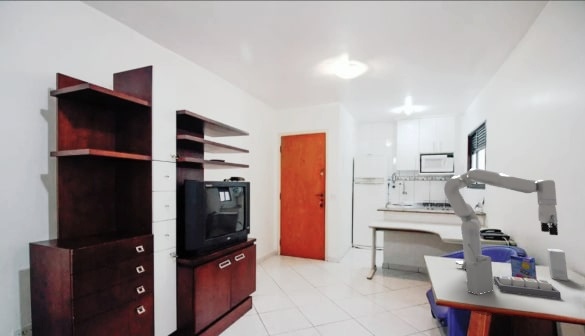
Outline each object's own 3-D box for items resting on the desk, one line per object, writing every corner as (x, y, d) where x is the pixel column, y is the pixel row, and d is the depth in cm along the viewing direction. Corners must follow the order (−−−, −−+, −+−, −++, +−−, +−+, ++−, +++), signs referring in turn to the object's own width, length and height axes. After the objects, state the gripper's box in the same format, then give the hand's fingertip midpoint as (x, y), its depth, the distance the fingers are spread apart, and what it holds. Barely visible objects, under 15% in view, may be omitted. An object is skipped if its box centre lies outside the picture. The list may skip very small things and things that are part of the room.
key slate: (501, 284, 137) (500, 277, 137) (499, 281, 141) (498, 274, 141) (511, 285, 135) (511, 279, 135) (508, 282, 139) (508, 276, 139)
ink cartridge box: (511, 276, 153) (509, 251, 154) (515, 274, 155) (513, 249, 156) (532, 281, 144) (530, 254, 145) (537, 279, 147) (534, 253, 148)
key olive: (527, 287, 132) (526, 280, 132) (523, 283, 136) (523, 277, 136) (538, 288, 130) (537, 281, 130) (534, 285, 134) (533, 278, 135)
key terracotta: (514, 285, 134) (513, 279, 134) (511, 282, 139) (510, 276, 139) (524, 286, 132) (524, 280, 133) (521, 283, 137) (520, 277, 137)
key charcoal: (540, 288, 130) (540, 282, 130) (536, 285, 134) (536, 278, 134) (551, 290, 128) (551, 283, 128) (547, 286, 132) (547, 280, 132)
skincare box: (568, 281, 143) (565, 252, 144) (551, 279, 147) (549, 250, 148) (564, 276, 150) (562, 249, 151) (548, 274, 154) (546, 247, 155)
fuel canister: (474, 296, 128) (471, 244, 129) (464, 292, 132) (461, 242, 134) (494, 291, 134) (490, 241, 135) (483, 287, 138) (480, 239, 140)
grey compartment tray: (500, 291, 133) (499, 285, 133) (493, 281, 146) (493, 276, 146) (560, 298, 123) (560, 292, 123) (548, 287, 135) (547, 282, 135)
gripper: (531, 200, 154) (534, 230, 153) (545, 203, 139) (547, 235, 138) (548, 201, 151) (550, 230, 150) (564, 203, 136) (566, 236, 135)
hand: (549, 233), depth 144 cm, fingers open, 9 cm apart
